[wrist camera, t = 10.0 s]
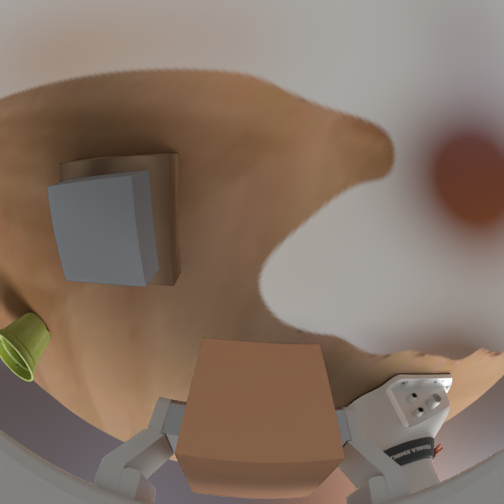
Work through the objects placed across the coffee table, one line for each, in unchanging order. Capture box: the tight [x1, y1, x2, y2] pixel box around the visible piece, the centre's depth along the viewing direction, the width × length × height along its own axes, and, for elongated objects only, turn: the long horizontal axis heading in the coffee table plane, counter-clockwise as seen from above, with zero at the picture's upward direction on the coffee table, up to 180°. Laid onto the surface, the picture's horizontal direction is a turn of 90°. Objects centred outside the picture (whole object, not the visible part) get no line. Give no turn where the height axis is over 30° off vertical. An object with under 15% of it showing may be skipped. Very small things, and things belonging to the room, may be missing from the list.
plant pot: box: [0, 313, 51, 381], centre depth 29 cm, size 9×9×9 cm
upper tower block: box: [47, 170, 159, 287], centre depth 21 cm, size 9×9×4 cm
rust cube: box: [175, 338, 345, 498], centre depth 8 cm, size 4×4×5 cm
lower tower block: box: [60, 153, 181, 286], centre depth 24 cm, size 12×12×4 cm
